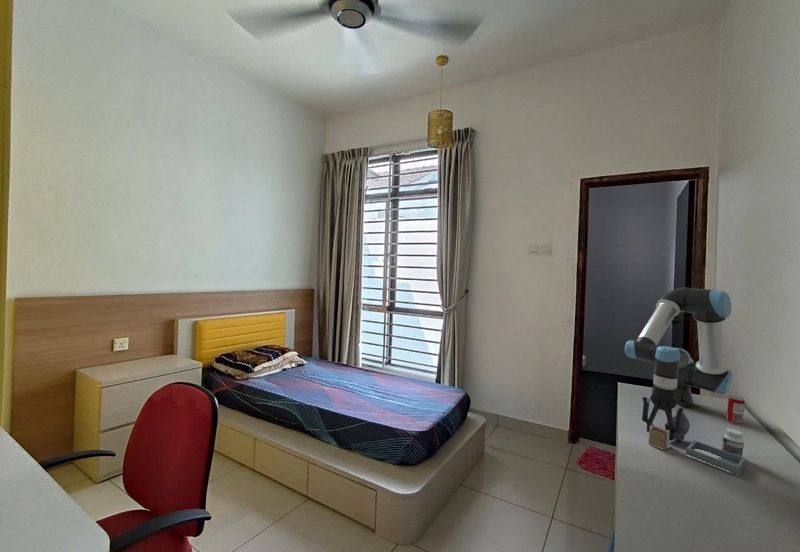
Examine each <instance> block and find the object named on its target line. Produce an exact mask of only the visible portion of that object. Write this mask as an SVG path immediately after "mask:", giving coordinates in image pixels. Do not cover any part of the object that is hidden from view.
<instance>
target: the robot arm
mask: <svg viewBox="0 0 800 552" xmlns="http://www.w3.org/2000/svg"><path fill="white" fill-rule="evenodd" d="M680 313H690V314H692V318H693V319H694V320H695V321H696V322H697V325H696V326H697V339H698V341H697V342H698V356H699V357H698V358H699V360H698V361H696V363H695V361H694V360H693V359H692V358H691V354H690V353H689V352H688V351H687V350H685V349H684V348H679V347H672V346H668V345H667V346H665V345H659V342H660V340H661V339H662V337H663V336H664V334H665V332H667V329H668V327H669V326H670V324H671V323H672V321H673V319H674V318H675V317H676V316H678V315H679V314H680ZM731 313H732V300H731V297H730V295H729V293H728V292H726V291H724V290H717V289H707V288H696V287H677V288H676V289H672V290H671V291H668V292H666V293H664V294H663V296H661V297H660V298H659V299H658V301H657V302H656V304H655V310H654V312H653V313H652V315H651V316H650V318H649V320H648V321H647V323H646V324H645V326H644V328H643V329H642V331H641V332H640V334H639V335H638V336H637V338H636V339H635V340H632V339H631V340H630V339H629V340H627V341H626V343H625V344H624V353H625V355H626V357H628V358H631V359H635V360H640V361H644V362H649V363H653V364H654V367H653V368H654V369H653V379H652V380H653V381H652V382H653V383H652V384H653V385H652V391H651V396H647V395H644V396H643V397H642V401H643V405H642V408H643V409H642V417H641V421H642V422H644V423H646V432H647V433H648V437H649V436H650V429H652V428H653V427H655V424H654V420H655V418H656V416H657V414H658V411H659V410H661V411H662V412H663V411H664V413H665V416H666V420H667V422H668V426H669V430H668V431H667V438H666V449H667V448H668V449H669V448H670V447H671V442H673V441H674V440H675V439H674V434H675V433H679V432H680V431H681V426H682V414H683V413H684V411H685V410H686V408H693V407H694V398H693V394H692V391H691V389H692V388H691V387H693V388H696V389H701V390H705V391H708V392H712V393H716V394H721V395H725V394H727V393H728V392H729V389H730V387H731V383H732V382H733V381H732V380H733V376H734V372H733V371H731V370H728V365H727V364H726V363H724V356H723V355H724V353H723V324H722V323H723V322H724V321H725V320H727V318H729V317H730V316H731ZM650 402H652V404H653V408H652V410H651V413H649V408H650ZM674 408H675V411H676V415H677V416H676V415H675V416H676V428H675V426H674V421H673V418H674V416H673V410H672V409H674ZM649 414H650V415H649ZM648 415H649V416H648Z"/></svg>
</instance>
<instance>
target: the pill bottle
mask: <svg viewBox="0 0 800 552" xmlns="http://www.w3.org/2000/svg"><path fill="white" fill-rule="evenodd" d="M743 436H744V434H743V432H742V431H740V430H738V429H734V428H730V427H727V428H725V434H723V436H722V445H721V450H724V451H727V452H729V453H732V454H735V455H738V456H741V457H743V455H744V453H743V452H744V443H745V440H744V439H743Z"/></svg>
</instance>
